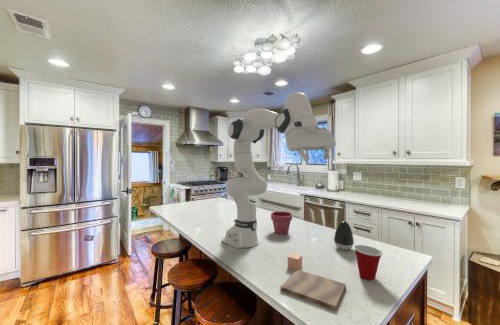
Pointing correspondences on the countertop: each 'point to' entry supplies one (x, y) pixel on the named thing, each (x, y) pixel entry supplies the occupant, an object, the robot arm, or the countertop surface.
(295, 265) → the cube
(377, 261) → the plastic cup
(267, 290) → the countertop surface
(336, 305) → the walnut board
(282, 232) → the plant pot
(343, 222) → the black glossy tall piece
